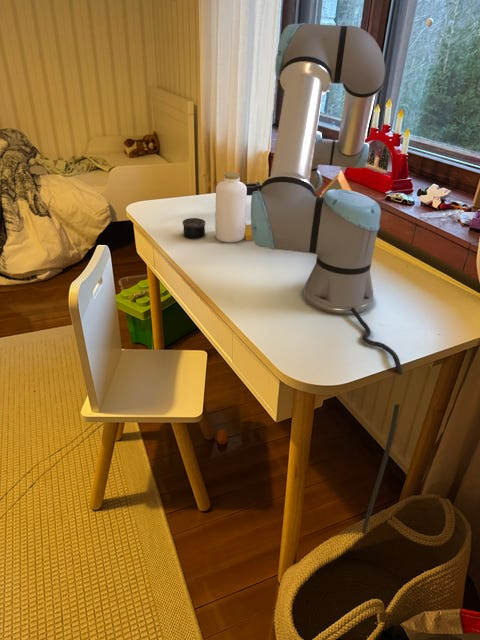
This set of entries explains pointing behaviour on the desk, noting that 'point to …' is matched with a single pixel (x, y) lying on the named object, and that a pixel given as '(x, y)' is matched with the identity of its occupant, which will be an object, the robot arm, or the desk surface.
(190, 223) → the dark tin
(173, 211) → the desk surface
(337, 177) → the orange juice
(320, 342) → the desk surface
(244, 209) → the potion bottle
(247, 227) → the mustard block
